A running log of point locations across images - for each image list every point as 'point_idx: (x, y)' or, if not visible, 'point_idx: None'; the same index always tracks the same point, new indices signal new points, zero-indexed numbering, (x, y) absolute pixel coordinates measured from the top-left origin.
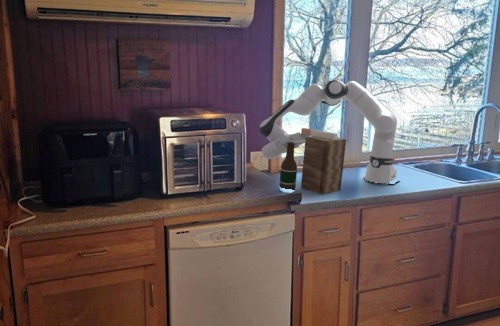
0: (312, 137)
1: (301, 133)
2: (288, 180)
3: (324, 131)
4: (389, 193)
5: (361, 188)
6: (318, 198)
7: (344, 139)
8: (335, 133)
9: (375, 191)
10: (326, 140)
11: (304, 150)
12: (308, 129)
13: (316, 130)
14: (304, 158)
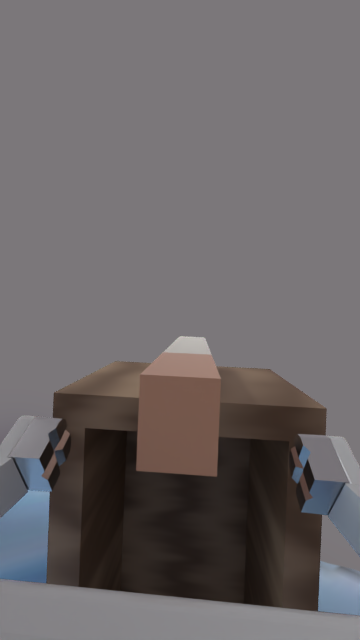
0: (273, 395)
1: (217, 461)
2: None
3: (180, 342)
4: (41, 492)
5: (10, 561)
6: (321, 599)
7: (129, 362)
8: (191, 337)
9: (37, 518)
10: (264, 370)
11: (320, 524)
12: (212, 359)
13: (194, 348)
14: (314, 585)
